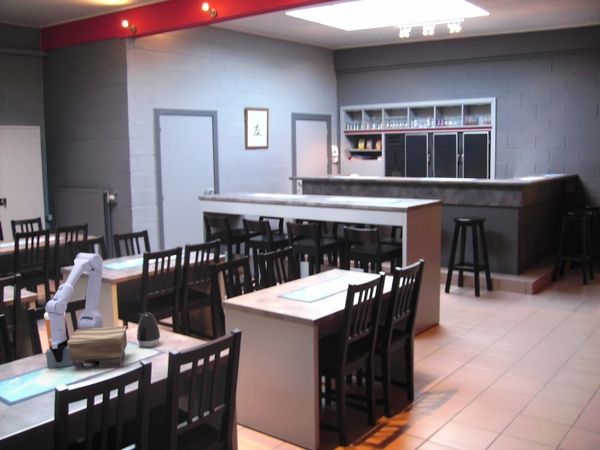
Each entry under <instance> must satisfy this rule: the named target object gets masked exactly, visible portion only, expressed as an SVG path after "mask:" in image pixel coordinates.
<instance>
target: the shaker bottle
mask: <svg viewBox="0 0 600 450" xmlns="http://www.w3.org/2000/svg"><path fill="white" fill-rule="evenodd" d="M43 317H44V318H43V319H44V321H45V328H46V329H45V330H46V335H47V336H46V337H47V343H48V349H50V346H52V343H51V341H50V342H49V341H48V340H49V339H51V330H50V319H49V317H48V313H47V312H46V311H45V313H43ZM64 320H65V321H66V311H65V312H64ZM65 331H66V325H65Z"/></svg>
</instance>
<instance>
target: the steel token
mask: <svg viewBox="0 0 600 450" xmlns="http://www.w3.org/2000/svg"><path fill="white" fill-rule="evenodd" d="M95 365H96V361H95V360H94V359H89V360H85V361H83V362H82V367H83V368H90V367H94V366H95Z"/></svg>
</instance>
